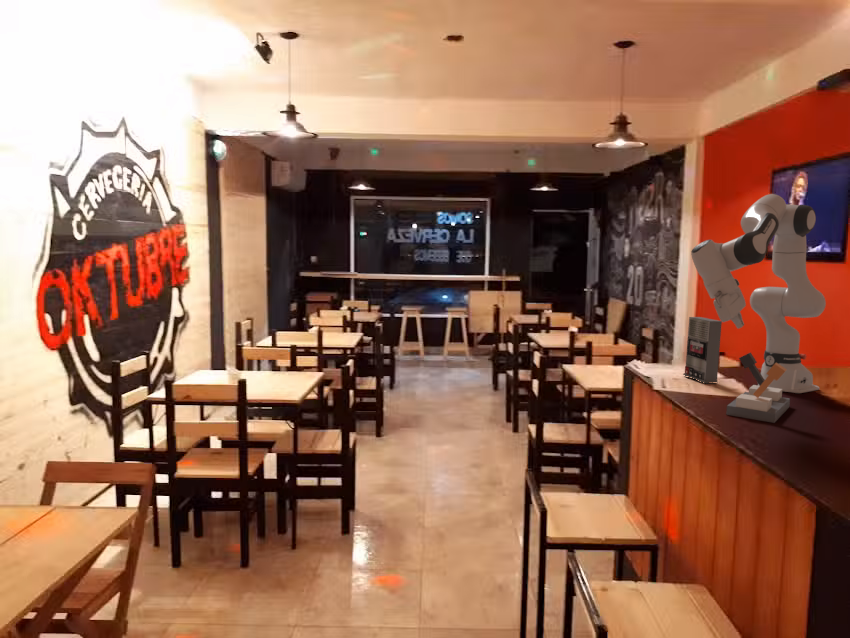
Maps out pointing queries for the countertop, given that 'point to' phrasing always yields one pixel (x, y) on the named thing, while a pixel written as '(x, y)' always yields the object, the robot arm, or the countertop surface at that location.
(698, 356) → the cassette tape recorder
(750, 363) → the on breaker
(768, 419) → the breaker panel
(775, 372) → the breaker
